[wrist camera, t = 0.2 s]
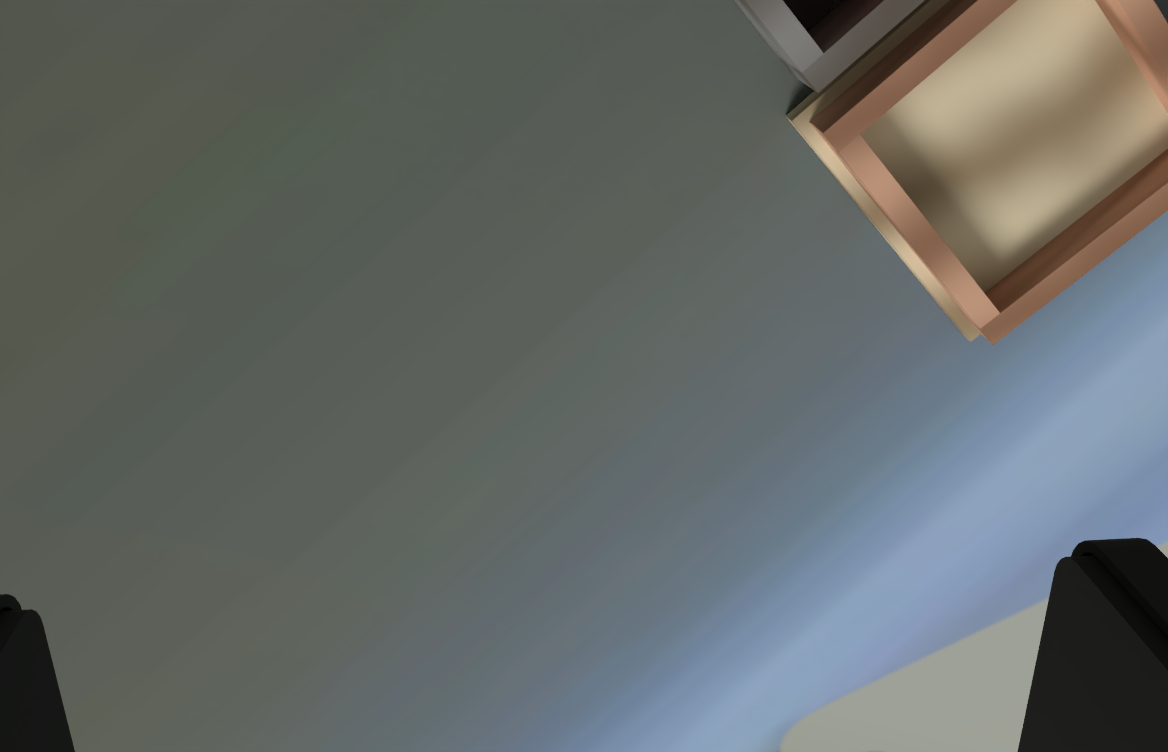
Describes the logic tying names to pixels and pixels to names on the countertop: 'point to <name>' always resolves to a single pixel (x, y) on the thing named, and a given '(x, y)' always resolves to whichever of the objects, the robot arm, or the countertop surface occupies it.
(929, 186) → the dock
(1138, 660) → the robot arm
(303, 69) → the countertop surface
